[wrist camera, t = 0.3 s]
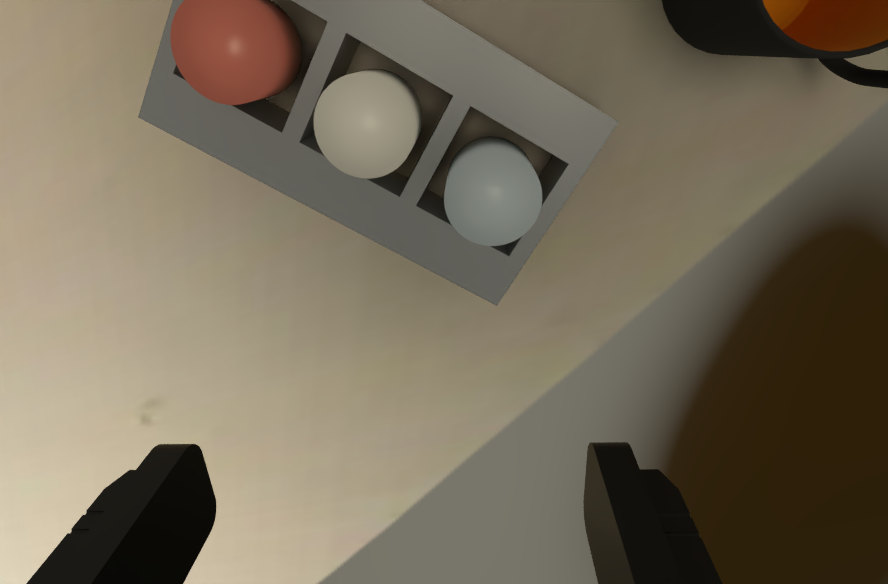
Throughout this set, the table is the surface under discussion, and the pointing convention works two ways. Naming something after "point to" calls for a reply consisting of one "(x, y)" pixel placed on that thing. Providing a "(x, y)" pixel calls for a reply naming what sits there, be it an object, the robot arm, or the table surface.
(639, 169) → the table surface
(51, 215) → the table surface
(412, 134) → the beige rounded block
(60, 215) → the table surface
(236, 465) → the table surface
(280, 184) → the three-slot peg holder
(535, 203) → the pale blue rounded block
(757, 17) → the mug
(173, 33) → the red rounded block
